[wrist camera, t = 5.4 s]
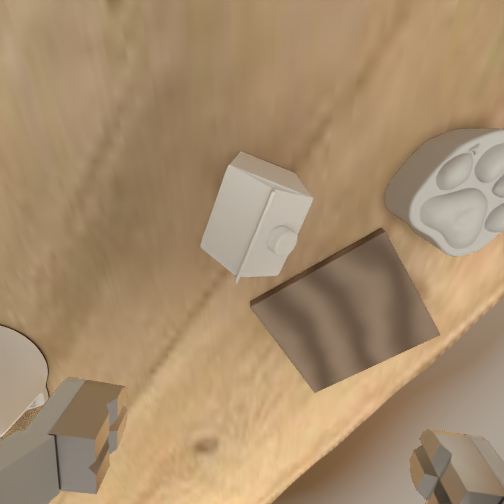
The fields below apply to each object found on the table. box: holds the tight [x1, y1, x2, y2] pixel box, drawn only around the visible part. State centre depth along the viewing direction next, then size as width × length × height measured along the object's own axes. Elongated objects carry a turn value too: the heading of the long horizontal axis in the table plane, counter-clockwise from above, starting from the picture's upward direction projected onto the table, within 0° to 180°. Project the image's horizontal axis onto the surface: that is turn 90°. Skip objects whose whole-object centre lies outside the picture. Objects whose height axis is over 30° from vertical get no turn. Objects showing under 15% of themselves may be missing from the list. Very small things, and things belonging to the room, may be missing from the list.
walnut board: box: [250, 228, 440, 393], centre depth 45 cm, size 20×18×2 cm
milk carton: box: [200, 151, 313, 283], centre depth 31 cm, size 7×7×19 cm
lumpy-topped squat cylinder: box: [384, 129, 504, 256], centre depth 34 cm, size 10×13×9 cm
